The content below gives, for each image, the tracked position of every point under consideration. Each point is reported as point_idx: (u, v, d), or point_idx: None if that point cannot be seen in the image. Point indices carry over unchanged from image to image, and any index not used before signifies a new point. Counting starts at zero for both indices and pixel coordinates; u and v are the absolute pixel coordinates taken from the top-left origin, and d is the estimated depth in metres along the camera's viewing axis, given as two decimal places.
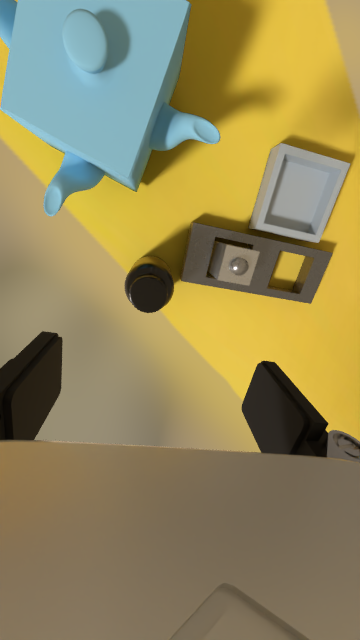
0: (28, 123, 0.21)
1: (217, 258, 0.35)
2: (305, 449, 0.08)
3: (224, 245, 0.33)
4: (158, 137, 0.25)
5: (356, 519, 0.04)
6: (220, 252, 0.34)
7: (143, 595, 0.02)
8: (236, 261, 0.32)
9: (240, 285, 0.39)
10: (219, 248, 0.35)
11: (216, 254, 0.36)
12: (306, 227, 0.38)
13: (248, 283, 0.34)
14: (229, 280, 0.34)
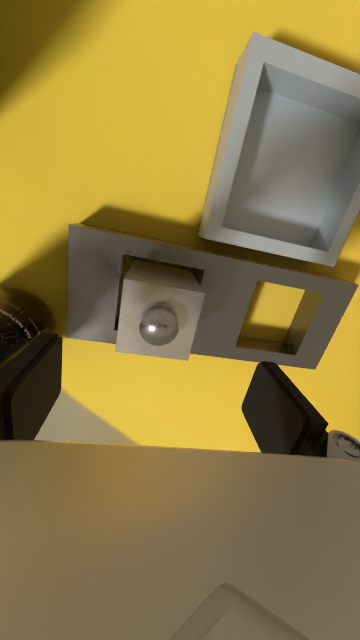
0: None
1: None
2: (305, 449, 0.08)
3: (125, 277, 0.14)
4: None
5: (356, 519, 0.04)
6: None
7: (143, 595, 0.02)
8: (148, 317, 0.14)
9: None
10: None
11: None
12: (310, 235, 0.20)
13: (185, 356, 0.16)
14: (142, 351, 0.16)
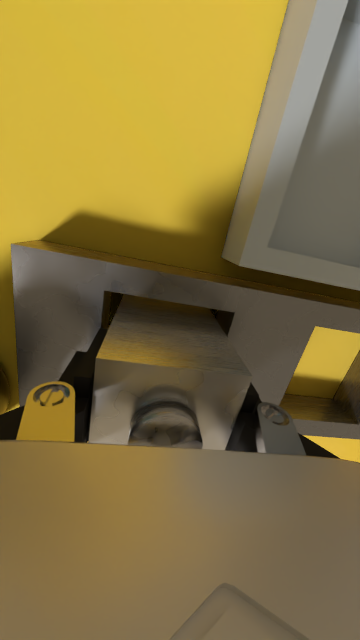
0: None
1: None
2: (239, 419, 0.08)
3: None
4: None
5: (356, 519, 0.04)
6: None
7: (143, 595, 0.02)
8: (144, 431, 0.07)
9: None
10: None
11: None
12: None
13: None
14: None
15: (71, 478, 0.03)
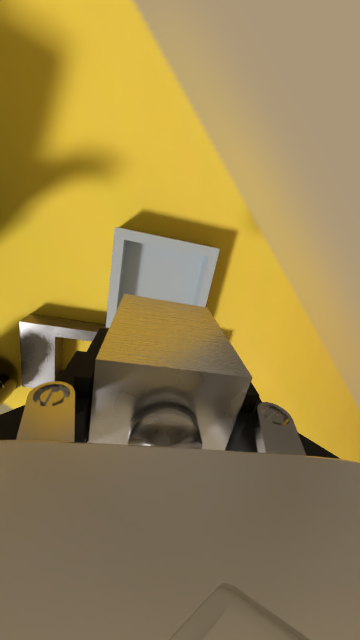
0: None
1: None
2: (239, 419, 0.08)
3: None
4: None
5: (356, 519, 0.04)
6: None
7: (143, 595, 0.02)
8: (144, 432, 0.07)
9: None
10: None
11: None
12: None
13: None
14: None
15: (71, 478, 0.03)
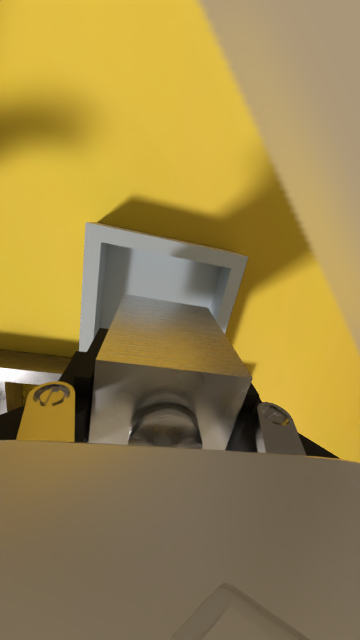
0: None
1: None
2: (239, 419, 0.08)
3: None
4: None
5: (356, 519, 0.04)
6: None
7: (143, 595, 0.02)
8: (144, 432, 0.07)
9: None
10: None
11: None
12: None
13: None
14: None
15: (71, 478, 0.03)
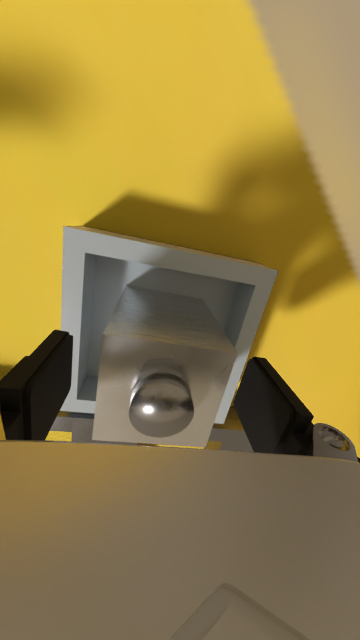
0: None
1: None
2: (291, 441, 0.08)
3: None
4: None
5: (356, 519, 0.04)
6: None
7: (143, 595, 0.02)
8: (143, 397, 0.08)
9: None
10: None
11: None
12: None
13: (202, 442, 0.10)
14: (135, 438, 0.10)
15: (71, 478, 0.03)
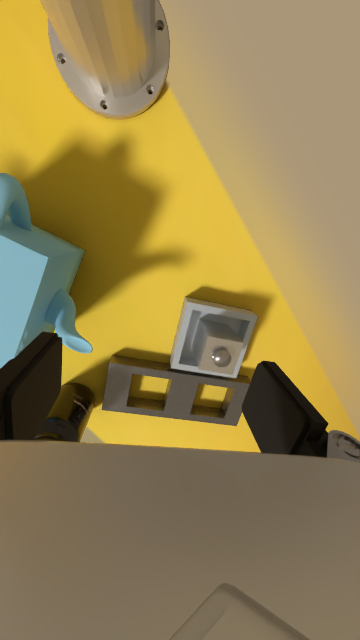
0: None
1: (200, 342, 0.33)
2: (305, 449, 0.08)
3: (206, 334, 0.31)
4: (50, 322, 0.27)
5: (356, 519, 0.04)
6: (202, 338, 0.32)
7: (143, 595, 0.02)
8: (218, 354, 0.30)
9: (162, 412, 0.40)
10: (202, 332, 0.33)
11: (199, 336, 0.34)
12: None
13: (231, 372, 0.32)
14: (211, 369, 0.32)
15: (71, 478, 0.03)
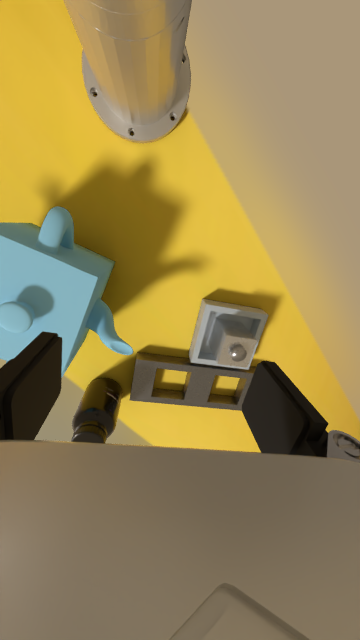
0: None
1: (217, 340, 0.37)
2: (305, 449, 0.08)
3: (224, 333, 0.35)
4: (91, 328, 0.31)
5: (356, 519, 0.04)
6: (220, 336, 0.37)
7: (143, 595, 0.02)
8: (235, 350, 0.34)
9: (182, 401, 0.45)
10: (219, 331, 0.37)
11: (216, 334, 0.38)
12: None
13: (246, 366, 0.37)
14: (228, 364, 0.36)
15: (71, 478, 0.03)
